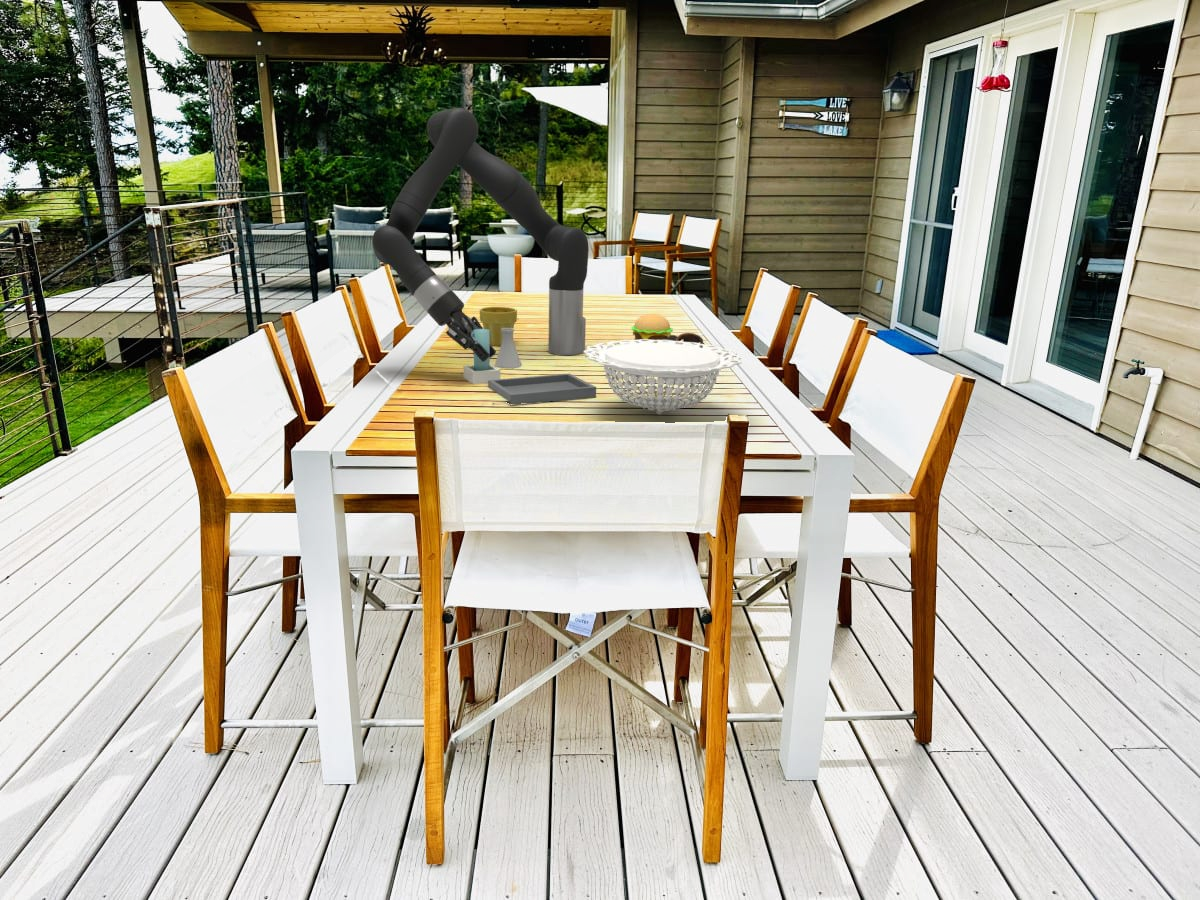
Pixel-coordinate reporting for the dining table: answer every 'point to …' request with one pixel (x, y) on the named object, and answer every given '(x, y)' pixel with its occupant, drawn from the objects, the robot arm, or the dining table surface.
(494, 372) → the tray
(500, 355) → the flask
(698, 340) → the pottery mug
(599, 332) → the dining table surface
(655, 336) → the hamburger
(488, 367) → the dowel
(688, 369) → the colander
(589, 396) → the tray
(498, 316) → the plant pot
